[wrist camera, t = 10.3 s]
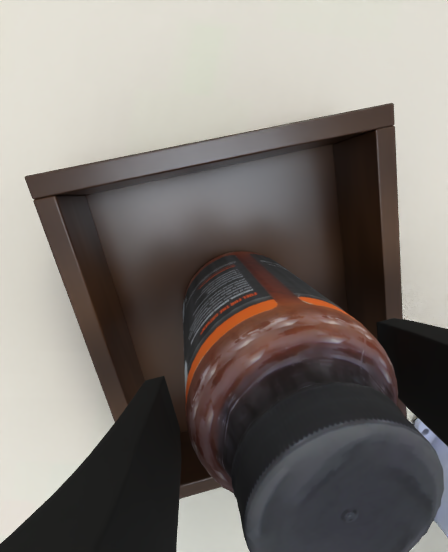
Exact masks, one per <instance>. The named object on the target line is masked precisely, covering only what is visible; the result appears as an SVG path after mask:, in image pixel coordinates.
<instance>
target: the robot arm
mask: <svg viewBox="0 0 448 552" xmlns="http://www.w3.org/2000/svg"><path fill="white" fill-rule="evenodd" d="M376 326H377V340H378V342H379V343H380V344H381V346H382V347H383V348H384V350H385V351H386V353H387V355H388V357H389V359H390V361H391V363H392V365H393V368H394V372H395V376H396V379H397V387H398V398H399V399H400V401H401V402H402V403H403V404H404V405H405V406H406V407H407V408H408V409H409V410H410V411H411V412H412V413H414V414H415V415H416V416H417V417H418V418H417V419H416V420H415V424H414V427H415V428H416V429H417V430H418V431H419V432H420V433H421V434H422V435H423V436H424V437H425V438H426V439H427V440H428V441H429V442H430V444H431V445H432V447H433V448H434V449H435V450H436V452H437V455H438V458H439V460H440V463H441V465H442V468H443V477H444V491H443V495H442V498H441V506H440V507H439V509H438V511H437V514H436V516H435V518H434V520H433V521H435V522H436V523H437V525H438V526H439V527H440V528H441V530H442V531H443V532H444V534H445V535H446V536H447V537H448V329H445V328H440V327H436V326H432V325H428V324H423V323H419V322H414V321H409V320H404V319H397V318H392V319H388V320H384V321H380V322H376ZM180 478H181V440H180V427H179V423H178V420H177V417H176V413H175V410H174V407H173V403H172V400H171V396H170V393H169V390H168V386H167V383H166V380H165V376H161V377H157V378H153V379H149V380H145V382H144V383H143V384H142V386H141V387H140V389H139V390H138V391H137V393H136V394H135V396H134V397H133V399H132V400H131V401H130V403H129V404H128V406H127V407H126V408H125V410H124V411H123V413H122V414H121V415H120V417H119V418H118V419H117V421H116V422H115V424H114V425H113V426H112V428H111V429H110V430H109V431H108V432H107V434H106V435H105V436H104V437H103V439H102V440H101V441H100V442H99V444H98V445H97V446H96V447H95V449H94V450H93V451H92V452H91V454H90V455H89V456H88V457H87V458H86V460H85V461H84V462H83V463H82V464H81V465H80V466H79V467H78V469H77V470H76V471H75V472H74V473H73V474H72V475H71V476H70V477H69V478H68V479H67V480H66V481H65V482H64V484H63V485H62V486H61V487H60V488H59V489H58V490H57V491H56V492H55V493H54V494H53V495H52V496H51V497H50V498H49V499H48V500H47V501H46V502H45V503H44V504H43V505H42V506H41V507H39V508H38V509H37V510H36V511H35V512H34V513H33V514H32V515H31V516H30V517H29V518H28V519H27V520H26V521H25V522H24V523H23V524H22V525H20V526H19V527H18V528H17V529H16V530H15V531H14V532H13V533H12V534H11V535H10V536H9V537H8V538H6V539H5V540H4V541H3V542H2V543H1V544H0V552H176V542H177V526H178V510H179V494H180Z"/></svg>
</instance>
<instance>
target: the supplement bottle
mask: <svg viewBox="0 0 448 552" xmlns="http://www.w3.org/2000/svg"><path fill="white" fill-rule="evenodd" d="M183 338H184V369H185V371H184V372H185V399H186V419H187V425H188V432H189V436H190V441H191V444H192V446H193V448H194V450H195V453H196V455H197V457H198V459H199V460H200V462H201V464H202V465H203V466H204V467H205V469H206V470H207V472H208V473H209V474H210V475H211V477H213V479H214V480H215V481H216V482H218V483H219V484H221V486H222V487H223V488H225V489H227V490H229V491H231V492H232V493H234V495H235V497H236V499H237V502H238V508H239V512H240V516H241V522H242V528H243V533H244V537H245V540H246V543H247V546H248V549H249V551H250V552H409V551H410V550H411V549H412V548H413V547H414V546H415V545H416V544H417V543H418V542H419V540H420V539H421V537H422V536H423V535H425V534H426V533H427V531H428V529H429V527H430V525H431V523H432V522H433V520H434V518H435V516H436V514H437V511H438V509H439V507H440V506H441V498H442V495H443V491H444V477H443V468H442V465H441V463H440V460H439V458H438V455H437V452H436V450H435V449H434V448H433V447H432V445H431V444H430V442H429V441H428V440H427V439H426V438H425V437H424V436H423V435H422V434H421V433H420V432H419V431H418V430H417V429H416V428H415V427H414V426H413V425H412V424H411V423H410V422H409V421H408V420H407V418H406V417H405V416H404V414H403V412H402V411H401V410H400V409H399V407H398V406H397V402H398V387H397V379H396V376H395V372H394V368H393V365H392V363H391V361H390V359H389V357H388V355H387V353H386V351H385V350H384V348H383V347H382V346H381V344H380V343H379V342H378V340H377V339H376V338H375V337H374V336H373V335H372V334H371V333H370V332H369V331H368V330H367V329H366V328H365V327H364V326H363V325H362V324H361V323H360V322H359V321H357V320H356V319H354V318H353V317H352V316H350V315H349V314H347V313H346V312H344V310H343V309H342V308H341V307H339V306H337V305H336V304H334V303H333V302H332V301H330V300H329V299H327V298H326V297H325V296H323V295H322V294H321V293H319V292H318V291H316V290H315V289H313V288H312V287H311V286H309V285H308V284H307V283H305V282H304V281H303V280H301V279H300V278H298V277H297V276H295V275H294V274H292V273H291V272H290V271H288V270H287V269H286V268H284V267H283V266H282V265H280V264H279V263H277V262H276V261H274V260H272V259H270V258H268V257H266V256H264V255H261V254H257V253H253V252H244V251H240V252H231V253H226V254H223V255H220V256H218V257H216V258H214V259H213V260H211V261H209V262H208V263H206V264H205V265H204V266H203V267H202V268H201V269H200V270H199V271H198V272H197V273H196V274H195V275H194V277H193V278H192V279H191V281H190V283H189V286H188V288H187V290H186V294H185V298H184V304H183Z"/></svg>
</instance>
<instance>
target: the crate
mask: <svg viewBox="0 0 448 552" xmlns="http://www.w3.org/2000/svg"><path fill="white" fill-rule="evenodd" d="M393 125H394V104H393V103H389V104H384V105H379V106H374V107H369V108H364V109H359V110H354V111H349V112H344V113H339V114H334V115H329V116H324V117H319V118H314V119H309V120H304V121H299V122H294V123H289V124H284V125H279V126H274V127H269V128H264V129H259V130H254V131H249V132H244V133H239V134H234V135H229V136H224V137H219V138H214V139H209V140H204V141H199V142H194V143H189V144H184V145H179V146H174V147H169V148H164V149H159V150H154V151H149V152H144V153H139V154H134V155H129V156H124V157H119V158H114V159H109V160H104V161H99V162H94V163H89V164H84V165H79V166H74V167H69V168H64V169H59V170H54V171H49V172H44V173H39V174H34V175H29V176H26V177H25V180H26V183H27V185H28V188H29V191H30V193H31V196H32V198H33V199H35V200H34V204H35V207H36V210H37V212H38V215H39V218H40V220H41V223H42V226H43V229H44V231H45V234H46V237H47V239H48V242H49V245H50V248H51V250H52V253H53V256H54V258H55V261H56V264H57V267H58V269H59V272H60V275H61V277H62V280H63V283H64V286H65V288H66V291H67V294H68V296H69V299H70V302H71V305H72V307H73V310H74V313H75V315H76V318H77V321H78V323H79V326H80V329H81V332H82V334H83V337H84V340H85V342H86V345H87V348H88V351H89V353H90V356H91V359H92V361H93V364H94V367H95V370H96V372H97V375H98V378H99V380H100V383H101V386H102V389H103V391H104V394H105V397H106V399H107V402H108V405H109V408H110V410H111V413H112V416H113V418H114V421H115V422H116V421H117V419H118V418H119V417H120V415H121V414H122V413H123V411H124V410H125V408H126V407H127V406H128V404H129V403H130V401H131V400H132V399H133V397H134V396H135V394H136V393H137V391H138V390H139V389H140V387H141V386H142V384H143V383H144V382H145V380H149V379H153V378H157V377H161V376H165V380H166V383H167V386H168V390H169V393H170V396H171V400H172V403H173V407H174V410H175V413H176V417H177V420H178V423H179V427H180V440H181V478H180V494H179V499H181V498H184V497H188V496H191V495H195V494H198V493H202V492H205V491H209V490H212V489H216V488H219V487H222V486H221V484H219V483H218V482H216V481H215V480H214V479H213V477H211V475H210V474H209V473H208V472H207V470H206V469H205V467H204V466H203V465H202V464H201V462H200V460H199V459H198V457H197V455H196V453H195V450H194V448H193V446H192V444H191V441H190V436H189V432H188V425H187V419H186V399H185V372H184V371H185V369H184V338H183V304H184V298H185V294H186V290H187V288H188V286H189V283H190V281H191V279H192V278H193V277H194V275H195V274H196V273H197V272H198V271H199V270H200V269H201V268H202V267H203V266H204V265H205V264H206V263H208V262H209V261H211V260H213V259H214V258H216V257H218V256H220V255H223V254H226V253H231V252H240V251H244V252H253V253H257V254H261V255H264V256H266V257H268V258H270V259H272V260H274V261H276V262H277V263H279V264H280V265H282V266H283V267H284V268H286V269H287V270H288V271H290V272H291V273H292V274H294V275H295V276H297V277H298V278H300V279H301V280H303V281H304V282H305V283H307V284H308V285H309V286H311V287H312V288H313V289H315V290H316V291H318V292H319V293H321V294H322V295H323V296H325V297H326V298H327V299H329V300H330V301H332V302H333V303H334V304H336V305H337V306H339V307H341V308H342V309H343V310H344V312H346V313H347V314H349V315H350V316H352V317H353V318H354V319H356V320H357V321H359V322H360V323H361V324H362V325H363V326H364V327H365V328H366V329H367V330H368V331H369V332H370V333H371V334H372V335H373V336H374V337H375V338H376V339H377V326H376V322H380V321H384V320H388V319H392V318H397V319H403V317H402V292H401V267H400V243H399V218H398V194H397V169H396V145H395V126H393ZM397 406H398V407H399V409H400V410H401V411H402V412H403V414H404V416H405V417H406V418H407V415H406V406H405V405H404V404H403V403H402V402H401V401H400V399H399V398H398V402H397Z"/></svg>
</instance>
